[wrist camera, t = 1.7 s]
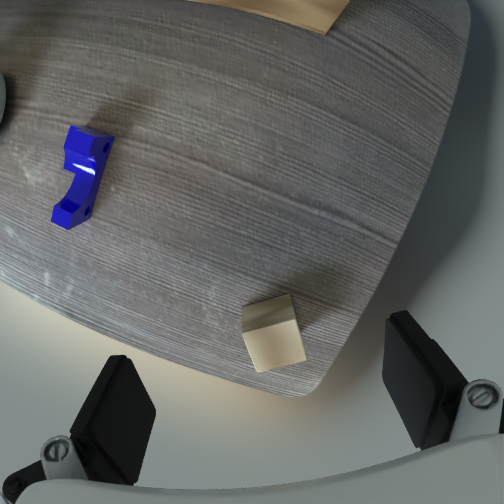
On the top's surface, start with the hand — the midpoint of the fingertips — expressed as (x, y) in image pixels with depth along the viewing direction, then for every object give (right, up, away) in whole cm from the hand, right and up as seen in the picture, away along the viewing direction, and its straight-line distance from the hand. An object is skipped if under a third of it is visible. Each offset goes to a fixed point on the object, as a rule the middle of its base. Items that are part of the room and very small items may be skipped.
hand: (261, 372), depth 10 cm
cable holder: (-15, +11, +15) cm, 24 cm away
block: (+2, -2, +19) cm, 20 cm away
